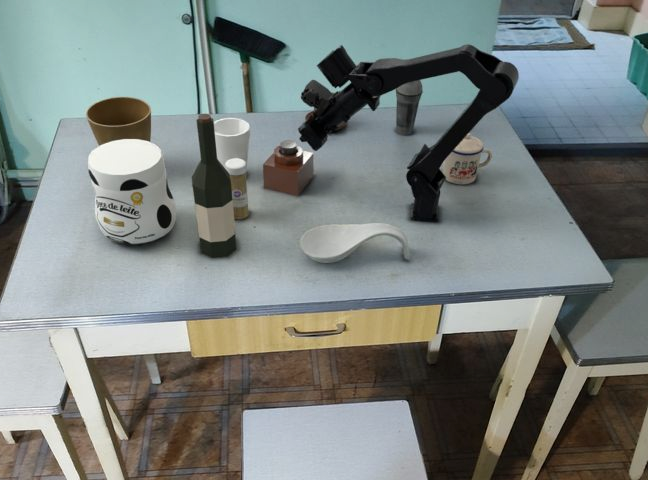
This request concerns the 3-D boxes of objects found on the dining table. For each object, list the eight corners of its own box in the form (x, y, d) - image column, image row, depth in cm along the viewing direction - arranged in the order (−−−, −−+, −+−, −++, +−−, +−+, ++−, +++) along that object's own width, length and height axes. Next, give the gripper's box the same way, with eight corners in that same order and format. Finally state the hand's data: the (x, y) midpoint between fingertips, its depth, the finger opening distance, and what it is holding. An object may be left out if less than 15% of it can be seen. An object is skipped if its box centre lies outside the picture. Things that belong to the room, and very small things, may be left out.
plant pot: (89, 169, 169) (74, 108, 158) (141, 150, 176) (130, 91, 165) (119, 193, 161) (105, 131, 150) (172, 173, 168) (162, 112, 157)
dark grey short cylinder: (299, 150, 162) (299, 142, 160) (292, 158, 159) (292, 149, 158) (284, 147, 163) (284, 138, 161) (277, 154, 160) (277, 146, 159)
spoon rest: (301, 272, 141) (301, 244, 136) (299, 239, 150) (299, 212, 144) (412, 270, 142) (416, 243, 137) (404, 238, 151) (408, 211, 146)
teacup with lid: (445, 186, 167) (453, 143, 159) (437, 167, 173) (444, 125, 165) (492, 184, 168) (502, 141, 160) (482, 166, 174) (491, 123, 166)
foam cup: (209, 182, 166) (204, 133, 157) (222, 164, 172) (217, 115, 163) (245, 187, 164) (242, 138, 155) (257, 169, 171) (254, 120, 162)
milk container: (101, 257, 143) (82, 182, 131) (98, 213, 155) (80, 141, 142) (183, 245, 147) (172, 172, 134) (174, 203, 159) (163, 132, 146)
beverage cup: (417, 125, 190) (426, 54, 176) (417, 138, 185) (427, 65, 170) (391, 124, 190) (399, 52, 176) (391, 136, 185) (398, 63, 171)
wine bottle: (231, 260, 143) (218, 129, 122) (193, 255, 144) (175, 124, 123) (242, 238, 149) (232, 109, 128) (206, 233, 150) (190, 104, 129)
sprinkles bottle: (231, 221, 154) (227, 169, 144) (227, 210, 157) (223, 158, 147) (251, 218, 155) (248, 166, 145) (246, 208, 158) (243, 156, 148)
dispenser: (313, 176, 169) (313, 145, 163) (297, 196, 162) (297, 164, 156) (280, 169, 171) (280, 138, 165) (263, 188, 164) (262, 156, 158)
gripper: (339, 57, 150) (294, 96, 161) (307, 89, 138) (261, 129, 149) (369, 97, 154) (324, 133, 165) (341, 132, 142) (293, 168, 152)
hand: (301, 139), depth 157 cm, fingers closed
